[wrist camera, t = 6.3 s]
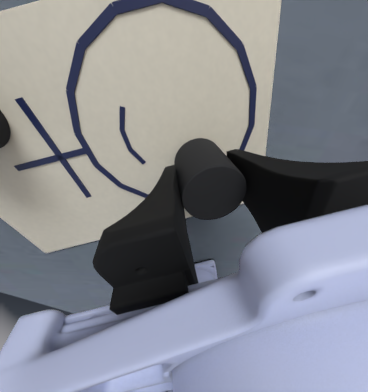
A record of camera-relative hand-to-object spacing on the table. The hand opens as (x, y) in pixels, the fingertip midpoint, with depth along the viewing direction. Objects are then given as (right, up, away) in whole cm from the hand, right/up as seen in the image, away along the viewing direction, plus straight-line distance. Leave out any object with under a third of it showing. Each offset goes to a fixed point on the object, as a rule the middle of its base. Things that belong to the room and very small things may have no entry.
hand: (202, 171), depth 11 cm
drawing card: (-6, +1, +1) cm, 6 cm away
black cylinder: (0, +1, +1) cm, 1 cm away
